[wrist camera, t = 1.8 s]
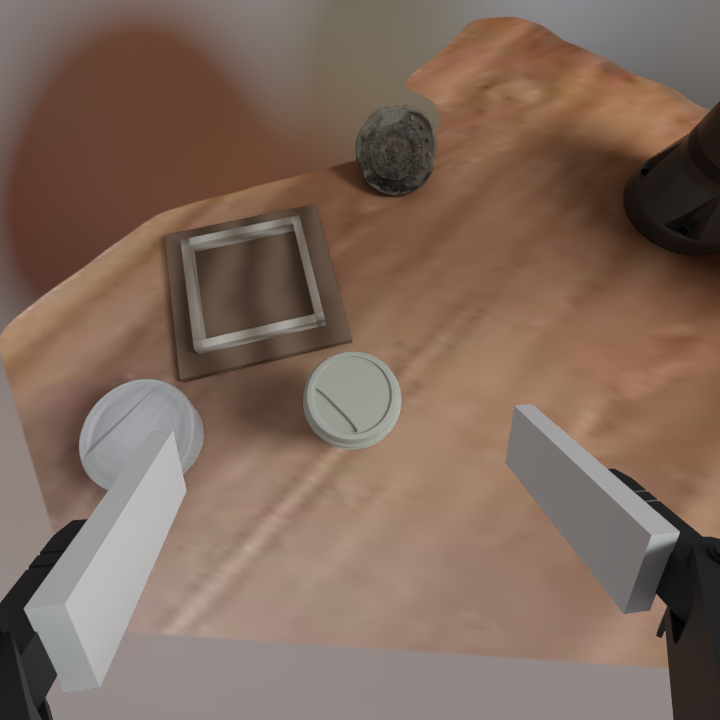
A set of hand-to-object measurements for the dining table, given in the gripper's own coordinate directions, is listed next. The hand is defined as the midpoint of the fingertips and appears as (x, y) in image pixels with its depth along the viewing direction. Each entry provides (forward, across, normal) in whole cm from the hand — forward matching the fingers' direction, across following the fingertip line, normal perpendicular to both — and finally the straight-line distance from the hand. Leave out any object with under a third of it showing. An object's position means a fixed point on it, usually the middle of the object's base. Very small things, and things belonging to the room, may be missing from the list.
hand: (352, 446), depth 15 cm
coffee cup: (+25, +2, -13) cm, 28 cm away
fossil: (+46, +11, +14) cm, 50 cm away
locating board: (+36, -8, 0) cm, 37 cm away
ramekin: (+26, -19, -15) cm, 35 cm away
